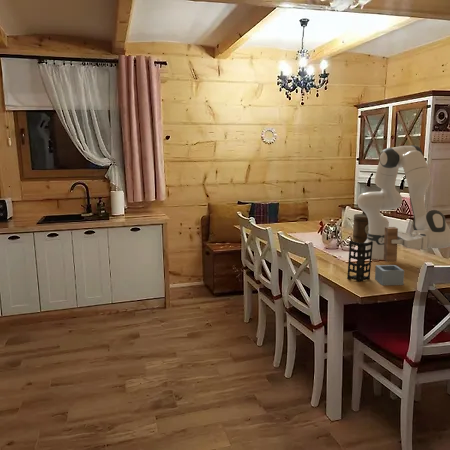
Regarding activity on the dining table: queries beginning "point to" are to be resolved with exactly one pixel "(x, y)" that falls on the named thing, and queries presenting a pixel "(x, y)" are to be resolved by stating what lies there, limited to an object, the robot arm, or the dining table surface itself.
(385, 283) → the box
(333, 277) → the dining table surface
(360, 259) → the holder
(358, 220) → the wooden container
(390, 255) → the peg
